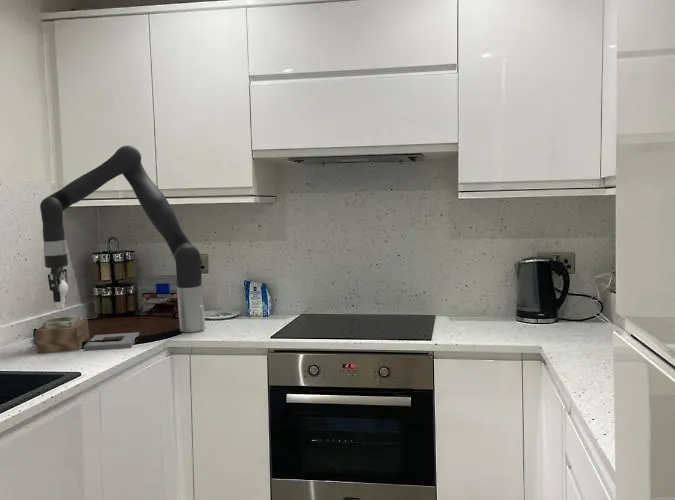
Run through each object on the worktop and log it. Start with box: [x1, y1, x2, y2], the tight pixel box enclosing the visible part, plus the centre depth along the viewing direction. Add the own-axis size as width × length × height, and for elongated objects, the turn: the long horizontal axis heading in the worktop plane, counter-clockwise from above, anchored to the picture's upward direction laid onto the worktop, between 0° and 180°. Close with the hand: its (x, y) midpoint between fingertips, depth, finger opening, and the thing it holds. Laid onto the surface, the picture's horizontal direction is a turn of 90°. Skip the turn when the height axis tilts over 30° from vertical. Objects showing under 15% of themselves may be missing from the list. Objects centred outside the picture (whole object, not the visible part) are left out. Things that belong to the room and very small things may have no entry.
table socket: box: [83, 331, 140, 352], centre depth 236 cm, size 16×16×2 cm
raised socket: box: [34, 315, 90, 354], centre depth 234 cm, size 14×14×10 cm
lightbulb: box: [49, 280, 69, 310], centre depth 232 cm, size 6×6×11 cm
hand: (60, 299), depth 232 cm, fingers closed on lightbulb, 5 cm apart
